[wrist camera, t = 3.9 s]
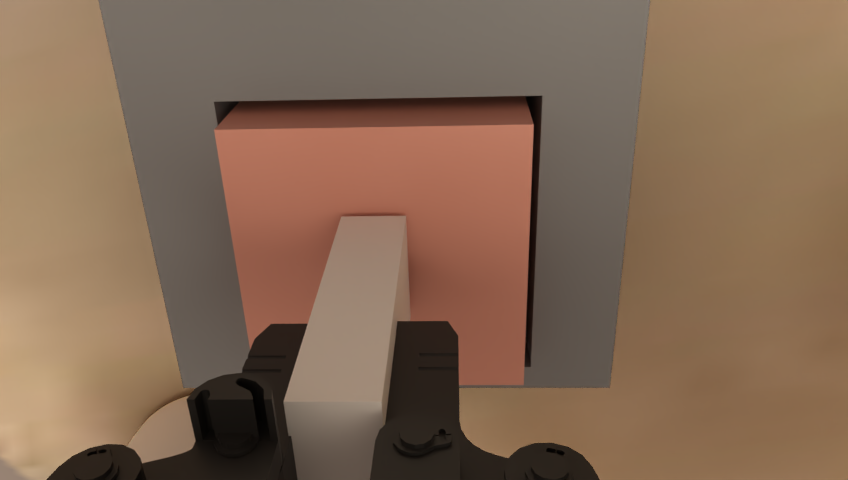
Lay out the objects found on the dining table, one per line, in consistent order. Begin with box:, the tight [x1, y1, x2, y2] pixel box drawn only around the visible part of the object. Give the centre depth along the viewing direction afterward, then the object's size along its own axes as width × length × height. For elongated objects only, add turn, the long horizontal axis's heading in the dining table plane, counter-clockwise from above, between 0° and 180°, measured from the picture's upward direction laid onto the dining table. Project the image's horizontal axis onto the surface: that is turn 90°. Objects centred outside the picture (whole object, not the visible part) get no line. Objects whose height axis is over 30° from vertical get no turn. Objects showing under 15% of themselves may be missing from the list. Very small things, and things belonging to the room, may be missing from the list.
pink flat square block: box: [214, 96, 534, 385], centre depth 19 cm, size 7×7×3 cm
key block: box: [99, 0, 650, 388], centre depth 19 cm, size 19×12×5 cm, turn 2°
